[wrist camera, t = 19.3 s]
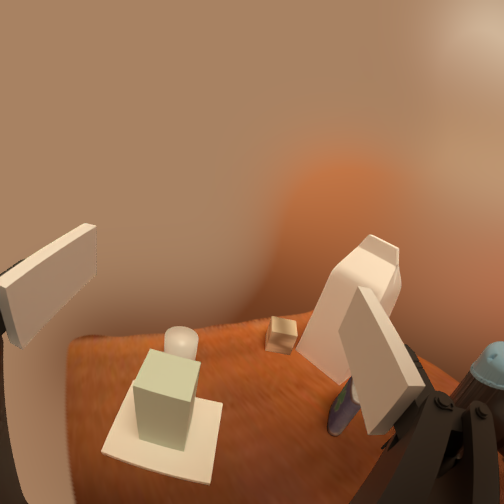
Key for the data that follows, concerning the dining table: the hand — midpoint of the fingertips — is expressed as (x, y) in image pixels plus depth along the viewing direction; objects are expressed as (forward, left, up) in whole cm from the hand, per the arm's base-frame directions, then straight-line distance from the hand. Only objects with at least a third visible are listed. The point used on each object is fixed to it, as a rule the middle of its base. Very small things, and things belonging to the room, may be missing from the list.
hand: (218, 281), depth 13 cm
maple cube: (-12, -34, -30) cm, 47 cm away
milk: (-24, -33, -30) cm, 51 cm away
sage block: (+4, -9, -29) cm, 31 cm away
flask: (-22, -17, -30) cm, 41 cm away
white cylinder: (+5, -21, -30) cm, 37 cm away
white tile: (+4, -9, -30) cm, 31 cm away
